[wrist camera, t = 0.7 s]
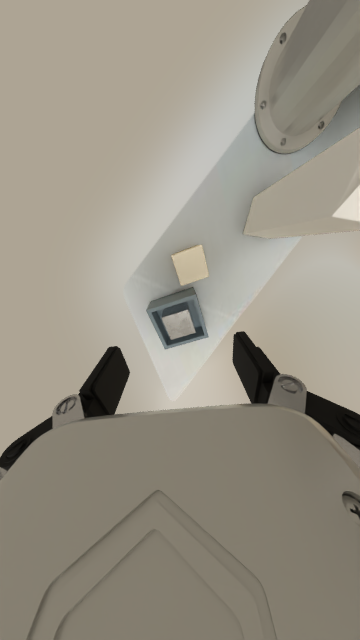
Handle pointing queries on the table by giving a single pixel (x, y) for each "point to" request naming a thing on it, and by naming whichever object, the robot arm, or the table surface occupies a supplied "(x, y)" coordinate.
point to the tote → (184, 296)
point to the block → (178, 320)
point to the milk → (312, 196)
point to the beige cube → (190, 264)
